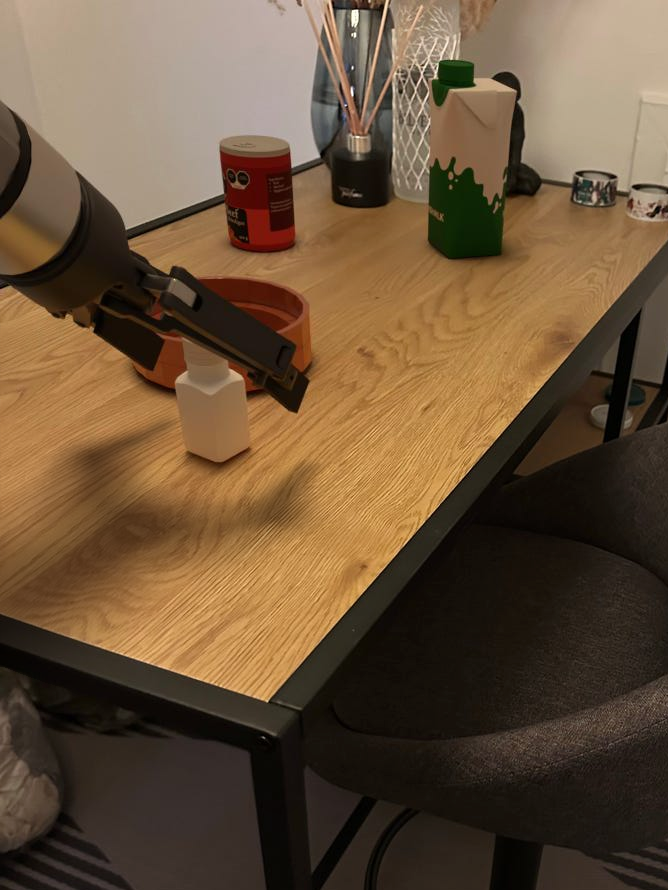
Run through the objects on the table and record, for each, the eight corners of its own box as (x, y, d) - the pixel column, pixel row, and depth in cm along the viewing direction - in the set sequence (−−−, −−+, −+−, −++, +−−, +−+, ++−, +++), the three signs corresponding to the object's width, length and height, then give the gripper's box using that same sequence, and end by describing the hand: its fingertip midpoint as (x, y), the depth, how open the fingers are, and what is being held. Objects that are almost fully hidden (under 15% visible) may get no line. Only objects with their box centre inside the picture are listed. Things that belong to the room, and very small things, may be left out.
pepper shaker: (181, 451, 74) (163, 335, 68) (217, 433, 77) (202, 319, 71) (220, 467, 73) (204, 349, 67) (254, 447, 76) (242, 332, 69)
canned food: (227, 233, 116) (216, 134, 109) (292, 231, 118) (286, 134, 111) (231, 253, 110) (220, 151, 103) (299, 251, 112) (293, 151, 105)
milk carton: (418, 239, 119) (421, 55, 106) (483, 234, 122) (494, 55, 109) (444, 262, 113) (452, 70, 100) (512, 256, 116) (527, 69, 103)
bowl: (94, 370, 84) (83, 316, 81) (209, 314, 96) (203, 264, 93) (243, 415, 80) (237, 359, 76) (344, 350, 91) (343, 298, 88)
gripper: (-152, 237, 56) (83, 381, 76) (186, 329, 49) (346, 461, 69) (-105, 123, 56) (116, 296, 77) (238, 197, 49) (381, 367, 69)
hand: (225, 375), depth 73 cm, fingers open, 13 cm apart
